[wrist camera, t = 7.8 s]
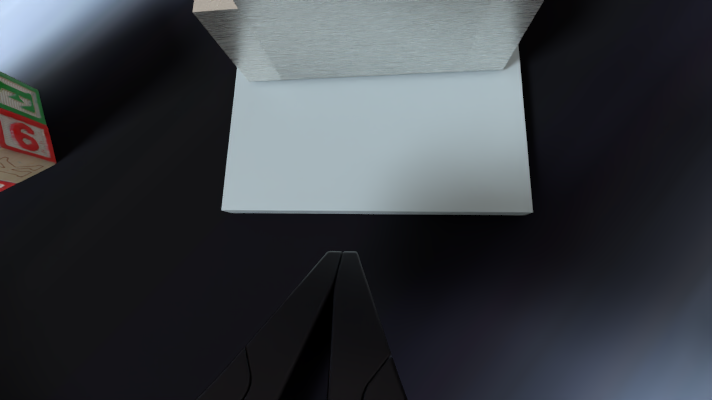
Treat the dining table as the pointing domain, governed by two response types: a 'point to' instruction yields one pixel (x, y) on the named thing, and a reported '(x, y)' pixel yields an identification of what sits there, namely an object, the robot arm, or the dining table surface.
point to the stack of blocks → (22, 133)
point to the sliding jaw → (365, 35)
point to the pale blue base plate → (380, 145)
